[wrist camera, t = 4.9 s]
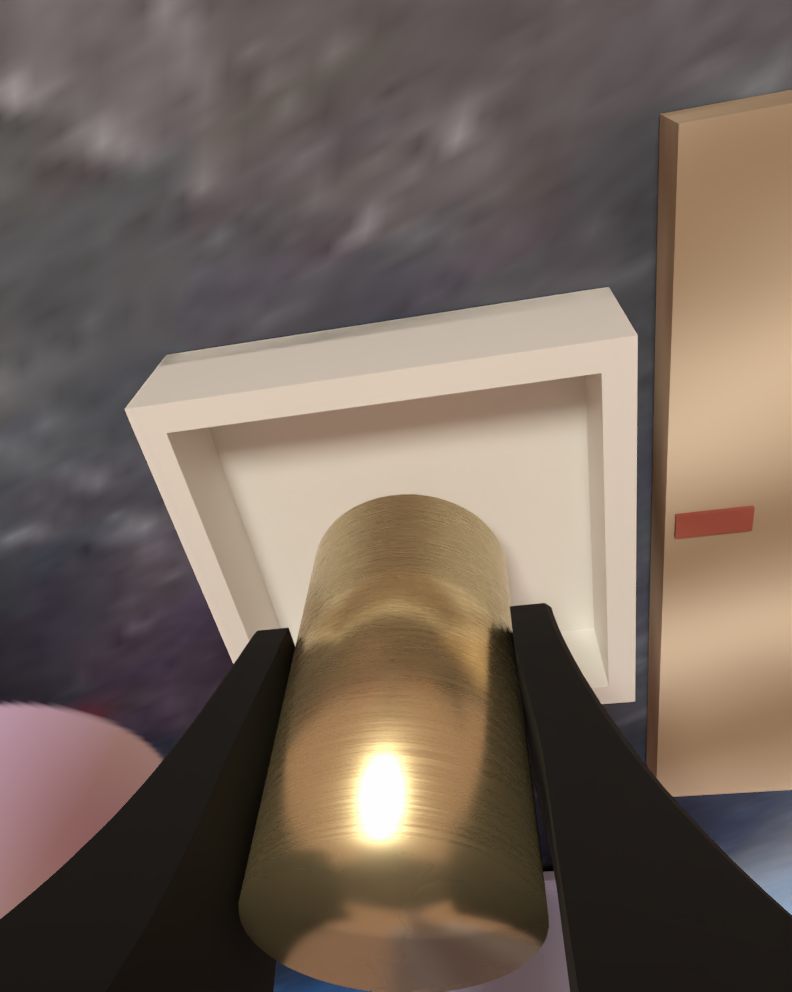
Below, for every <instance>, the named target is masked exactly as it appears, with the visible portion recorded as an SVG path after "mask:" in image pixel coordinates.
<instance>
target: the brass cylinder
mask: <svg viewBox="0 0 792 992" xmlns="http://www.w3.org/2000/svg"><path fill="white" fill-rule="evenodd" d="M510 606H511V600H510V591H509V583H508V574H507V566H506V560H505V556H504V552H503V549H502V547H501V545H500V542H499V541H498V539H497V537H496V536H495V534H494V533H493V532H492V530H491V529H490V528H489V527H488V526H487V525H486V524H485V523H484V522H483V521H482V520H481V519H480V518H478V517H477V516H476V515H474V514H473V513H471V512H470V511H468V510H467V509H465V508H463V507H461V506H459V505H457V504H455V503H452V502H449V501H446V500H444V499H440V498H436V497H431V496H425V495H417V494H400V495H390V496H385V497H380V498H376V499H373V500H370V501H367V502H364V503H362V504H360V505H358V506H355V507H353V508H352V509H350V510H349V511H347V512H345V513H344V514H343V515H341V516H340V517H339V518H338V519H337V520H335V521H334V523H333V524H332V525H331V526H330V527H329V528H328V529H327V531H326V532H325V534H324V535H323V537H322V539H321V541H320V543H319V546H318V548H317V552H316V556H315V561H314V565H313V570H312V574H311V579H310V583H309V588H308V592H307V597H306V601H305V606H304V610H303V615H302V619H301V624H300V628H299V633H298V637H297V642H296V646H295V651H294V655H293V660H292V664H291V669H290V673H289V678H288V682H287V687H286V691H285V696H284V700H283V705H282V709H281V714H280V718H279V723H278V727H277V732H276V736H275V741H274V745H273V750H272V754H271V759H270V763H269V768H268V772H267V777H266V781H265V786H264V790H263V795H262V799H261V804H260V808H259V813H258V817H257V822H256V826H255V831H254V835H253V840H252V844H251V849H250V853H249V858H248V862H247V867H246V871H245V876H244V880H243V885H242V889H241V894H240V898H239V916H240V920H241V923H242V925H243V927H244V929H245V931H246V933H247V934H248V935H249V937H250V938H251V939H252V940H253V942H254V943H255V944H256V945H257V946H258V947H259V948H261V949H262V950H263V951H264V952H265V953H267V954H268V955H269V956H271V957H272V958H273V959H275V960H277V961H278V962H280V963H282V964H284V965H285V966H287V967H289V968H291V969H293V970H295V971H298V972H300V973H302V974H305V975H307V976H310V977H312V978H315V979H318V980H321V981H325V982H328V983H331V984H335V985H340V986H344V987H348V988H354V989H360V990H366V991H374V992H445V991H452V990H459V989H463V988H468V987H473V986H477V985H480V984H484V983H487V982H490V981H493V980H495V979H498V978H500V977H503V976H505V975H507V974H509V973H511V972H513V971H515V970H516V969H518V968H519V967H521V966H523V965H524V964H526V963H527V962H528V961H529V960H530V959H531V958H532V957H534V956H535V955H536V953H537V952H538V951H539V950H540V948H541V947H542V946H543V944H544V942H545V940H546V938H547V934H548V929H549V916H548V908H547V900H546V891H545V883H544V875H543V866H542V858H541V850H540V841H539V833H538V825H537V816H536V808H535V800H534V791H533V783H532V775H531V766H530V758H529V750H528V741H527V733H526V725H525V716H524V708H523V700H522V695H521V689H520V684H519V678H518V671H517V663H516V655H515V647H514V639H513V630H512V621H511V613H510Z"/></svg>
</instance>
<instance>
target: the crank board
mask: <svg viewBox="0 0 792 992" xmlns="http://www.w3.org/2000/svg"><path fill="white" fill-rule="evenodd" d="M646 763H647V767H648V768H649V770H650V771H651V772H652V773H653V774H654V776H655V777H656V778H657V779H658V781H659V782H660V783H661V784H662V785H663V787H664V788H665V789H666V790H667V791H668V792H669V793H670V795H671V796H672V797H677V796H694V795H711V794H728V793H745V792H762V791H779V790H792V90H788V91H782V92H777V93H771V94H766V95H760V96H755V97H750V98H744V99H739V100H733V101H728V102H722V103H717V104H712V105H706V106H701V107H695V108H690V109H684V110H679V111H674V112H668V113H663V114H660V128H659V176H658V224H657V272H656V320H655V368H654V416H653V463H652V511H651V559H650V607H649V655H648V703H647V751H646Z"/></svg>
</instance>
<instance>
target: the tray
mask: <svg viewBox="0 0 792 992" xmlns="http://www.w3.org/2000/svg"><path fill="white" fill-rule="evenodd" d="M637 358H638V335H637V333H636V332H635V330H634V328H633V327H632V325H631V323H630V322H629V320H628V318H627V317H626V315H625V313H624V312H623V310H622V308H621V307H620V305H619V303H618V301H617V300H616V298H615V296H614V295H613V293H612V291H611V290H610V288H609V287H605V288H598V289H592V290H585V291H579V292H572V293H566V294H559V295H553V296H546V297H540V298H533V299H527V300H520V301H514V302H507V303H501V304H494V305H488V306H481V307H475V308H468V309H462V310H455V311H449V312H442V313H436V314H429V315H423V316H416V317H410V318H403V319H397V320H390V321H384V322H377V323H371V324H364V325H358V326H351V327H345V328H338V329H332V330H325V331H319V332H312V333H306V334H299V335H293V336H286V337H280V338H273V339H267V340H260V341H254V342H247V343H241V344H234V345H228V346H221V347H215V348H208V349H202V350H195V351H189V352H182V353H176V354H169V355H166V356H165V357H164V359H163V360H162V361H161V362H160V364H159V365H158V366H157V368H156V369H155V370H154V372H153V373H152V374H151V375H150V377H149V378H148V379H147V381H146V382H145V383H144V385H143V386H142V387H141V388H140V390H139V391H138V392H137V394H136V395H135V396H134V397H133V399H132V400H131V401H130V403H129V404H128V405H127V407H126V408H125V412H126V414H127V416H128V419H129V421H130V423H131V426H132V428H133V430H134V433H135V435H136V437H137V440H138V442H139V444H140V447H141V449H142V451H143V454H144V456H145V458H146V461H147V463H148V465H149V468H150V470H151V472H152V475H153V477H154V480H155V482H156V484H157V487H158V489H159V491H160V494H161V496H162V498H163V501H164V503H165V505H166V508H167V510H168V512H169V515H170V517H171V519H172V522H173V524H174V526H175V529H176V531H177V533H178V536H179V538H180V540H181V543H182V545H183V547H184V550H185V552H186V554H187V557H188V559H189V561H190V564H191V566H192V568H193V571H194V573H195V575H196V578H197V580H198V582H199V585H200V587H201V589H202V592H203V594H204V596H205V599H206V601H207V603H208V606H209V608H210V610H211V613H212V615H213V617H214V620H215V622H216V624H217V627H218V629H219V631H220V634H221V636H222V638H223V641H224V643H225V645H226V648H227V650H228V652H229V655H230V657H231V659H232V662H233V664H234V663H235V661H236V660H237V658H238V657H239V655H240V654H241V653H242V651H243V650H244V648H245V647H246V645H247V644H248V642H249V641H250V639H251V638H252V636H253V635H254V634H255V633H256V631H259V630H269V629H280V628H289V630H290V633H291V636H292V639H293V642H294V644H295V646H296V642H297V637H298V633H299V628H300V624H301V619H302V615H303V610H304V606H305V601H306V597H307V592H308V588H309V583H310V579H311V574H312V570H313V565H314V561H315V556H316V552H317V548H318V546H319V543H320V541H321V539H322V537H323V535H324V534H325V532H326V531H327V529H328V528H329V527H330V526H331V525H332V524H333V523H334V521H335V520H337V519H338V518H339V517H340V516H341V515H343V514H344V513H345V512H347V511H349V510H350V509H352V508H353V507H355V506H358V505H360V504H362V503H364V502H367V501H370V500H373V499H376V498H380V497H385V496H390V495H400V494H417V495H425V496H431V497H436V498H440V499H444V500H446V501H449V502H452V503H455V504H457V505H459V506H461V507H463V508H465V509H467V510H468V511H470V512H471V513H473V514H474V515H476V516H477V517H478V518H480V519H481V520H482V521H483V522H484V523H485V524H486V525H487V526H488V527H489V528H490V529H491V530H492V532H493V533H494V534H495V536H496V537H497V539H498V541H499V542H500V545H501V547H502V549H503V552H504V556H505V560H506V566H507V574H508V583H509V591H510V600H511V606H518V605H528V604H539V603H546V604H547V605H549V606H550V607H551V608H552V611H553V614H554V617H555V620H556V622H557V625H558V627H559V629H560V632H561V634H562V636H563V638H564V640H565V642H566V644H567V646H568V648H569V650H570V652H571V654H572V656H573V658H574V660H575V661H576V663H577V665H578V667H579V668H580V670H581V672H582V674H583V675H584V677H585V678H586V680H587V682H588V683H589V685H590V687H591V688H592V690H593V691H594V693H595V695H596V696H597V698H598V699H599V701H600V703H601V704H610V703H623V702H635V648H636V503H637Z"/></svg>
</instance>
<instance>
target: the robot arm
mask: <svg viewBox="0 0 792 992" xmlns="http://www.w3.org/2000/svg"><path fill="white" fill-rule="evenodd" d="M510 613H511V621H512V630H513V639H514V647H515V655H516V663H517V671H518V678H519V684H520V689H521V695H522V700H523V708H524V716H525V725H526V733H527V741H528V750H529V757H530V761H531V766H532V771H533V775H534V780H535V785H536V789H537V794H538V799H539V803H540V808H541V812H542V817H543V822H544V826H545V831H546V836H547V840H548V845H549V849H550V854H551V859H552V864H553V870H554V871H543V875H544V883H545V891H546V900H547V908H548V916H549V929H548V934H547V938H546V940H545V942H544V944H543V946H542V947H541V948H540V950H539V951H538V952H537V953H536V955H535V956H534V957H532V958H531V959H530V960H529V961H528V962H527V963H526V964H524V965H523V966H521V967H519V968H518V969H516V970H515V971H513V972H511V973H509V974H507V975H505V976H503V977H500V978H498V979H495V980H493V981H490V982H487V983H484V984H480V985H477V986H473V987H468V988H463V989H459V990H452V991H445V992H792V915H791V914H790V913H788V912H787V911H786V910H785V909H784V908H783V907H782V906H781V905H780V904H778V903H777V902H776V901H775V900H774V899H773V898H772V897H771V896H769V895H768V894H767V893H766V892H765V891H764V890H763V889H762V888H761V887H760V886H759V885H758V884H757V883H756V882H755V881H753V880H752V879H751V878H750V877H749V876H748V875H747V874H746V873H745V872H744V871H743V870H742V869H741V868H740V867H739V866H738V865H737V864H736V863H735V862H733V861H732V860H731V858H730V857H729V856H728V855H727V854H726V853H725V852H724V851H723V850H722V849H721V848H720V847H719V846H718V845H717V844H716V843H715V842H714V841H713V840H712V839H711V838H710V837H709V836H708V835H707V834H706V833H705V832H704V831H703V829H702V828H701V827H700V826H699V825H698V824H697V823H696V822H695V821H694V820H693V819H692V818H691V817H690V816H689V815H688V814H687V813H686V812H685V811H684V809H683V808H682V807H681V806H680V805H679V804H678V803H677V801H676V800H675V799H674V798H673V797H672V796H671V795H670V793H669V792H668V791H667V790H666V789H665V788H664V787H663V785H662V784H661V783H660V782H659V781H658V779H657V778H656V777H655V776H654V774H653V773H652V772H651V771H650V770H649V768H648V767H647V766H646V765H645V763H644V762H643V761H642V760H641V758H640V757H639V756H638V754H637V753H636V752H635V751H634V749H633V748H632V747H631V745H630V744H629V743H628V741H627V740H626V739H625V737H624V736H623V734H622V733H621V732H620V730H619V729H618V727H617V726H616V724H615V723H614V722H613V720H612V719H611V717H610V716H609V715H608V713H607V712H606V710H605V709H604V707H603V706H602V704H601V703H600V701H599V699H598V698H597V696H596V695H595V693H594V691H593V690H592V688H591V687H590V685H589V683H588V682H587V680H586V678H585V677H584V675H583V674H582V672H581V670H580V668H579V667H578V665H577V663H576V661H575V660H574V658H573V656H572V654H571V652H570V650H569V648H568V646H567V644H566V642H565V640H564V638H563V636H562V634H561V632H560V629H559V627H558V625H557V622H556V620H555V617H554V614H553V611H552V608H551V607H550V606H549V605H547V604H546V603H539V604H528V605H518V606H510ZM294 651H295V644H294V642H293V639H292V636H291V633H290V630H289V628H280V629H269V630H259V631H256V633H255V634H254V635H253V636H252V638H251V639H250V641H249V642H248V644H247V645H246V647H245V648H244V650H243V651H242V653H241V654H240V655H239V657H238V658H237V660H236V661H235V663H234V664H233V666H232V667H231V669H230V670H229V672H228V673H227V675H226V676H225V678H224V679H223V681H222V682H221V683H220V685H219V686H218V688H217V689H216V691H215V692H214V694H213V695H212V696H211V698H210V699H209V700H208V702H207V703H206V705H205V706H204V707H203V709H202V710H201V712H200V713H199V714H198V716H197V717H196V718H195V720H194V721H193V723H192V724H191V725H190V727H189V728H188V729H187V731H186V732H185V733H184V735H183V736H182V737H181V738H180V740H179V741H178V742H177V743H176V745H175V746H174V747H173V748H172V750H171V751H170V752H169V753H168V755H167V756H166V757H165V758H164V760H163V761H162V762H161V764H160V765H159V766H158V767H157V768H156V770H155V771H154V772H153V773H152V775H151V776H150V777H149V778H148V779H147V780H146V782H145V783H144V784H143V785H142V786H141V787H140V788H139V789H138V791H137V792H136V793H135V794H134V795H133V796H132V797H131V798H130V800H129V801H128V802H127V803H126V804H125V805H124V806H123V807H122V808H121V809H120V810H119V812H118V813H117V814H116V815H115V816H114V817H113V818H112V819H111V820H110V821H109V822H108V823H107V824H106V825H105V826H104V827H103V828H102V829H101V830H100V831H99V832H98V833H97V834H96V835H95V836H94V837H93V838H92V839H91V840H89V842H87V843H86V844H85V845H84V846H83V847H82V848H81V849H80V850H79V851H78V852H77V853H76V854H75V855H74V856H73V857H72V858H71V859H70V860H69V861H68V862H67V863H66V864H65V865H63V866H62V867H61V868H60V869H59V870H58V871H57V872H56V873H55V874H53V875H52V876H51V877H50V878H49V879H48V880H47V881H46V882H44V883H43V884H42V885H41V886H40V887H39V888H37V889H36V890H35V891H34V892H33V893H32V894H31V895H29V896H28V897H27V898H26V899H24V900H23V901H22V902H21V903H20V904H18V905H17V906H16V907H15V908H14V909H12V910H11V911H10V912H9V913H8V914H6V915H5V916H4V917H3V918H1V919H0V992H273V987H274V976H275V965H276V960H275V959H273V958H272V957H271V956H269V955H268V954H267V953H265V952H264V951H263V950H262V949H261V948H259V947H258V946H257V945H256V944H255V943H254V942H253V940H252V939H251V938H250V937H249V935H248V934H247V933H246V931H245V929H244V927H243V925H242V923H241V920H240V916H239V898H240V894H241V889H242V885H243V880H244V876H245V871H246V867H247V862H248V858H249V853H250V849H251V844H252V840H253V835H254V831H255V826H256V822H257V817H258V813H259V808H260V804H261V799H262V795H263V790H264V786H265V781H266V777H267V772H268V768H269V763H270V759H271V754H272V750H273V745H274V741H275V736H276V732H277V727H278V723H279V718H280V714H281V709H282V705H283V700H284V696H285V691H286V687H287V682H288V678H289V673H290V669H291V664H292V660H293V655H294Z"/></svg>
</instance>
